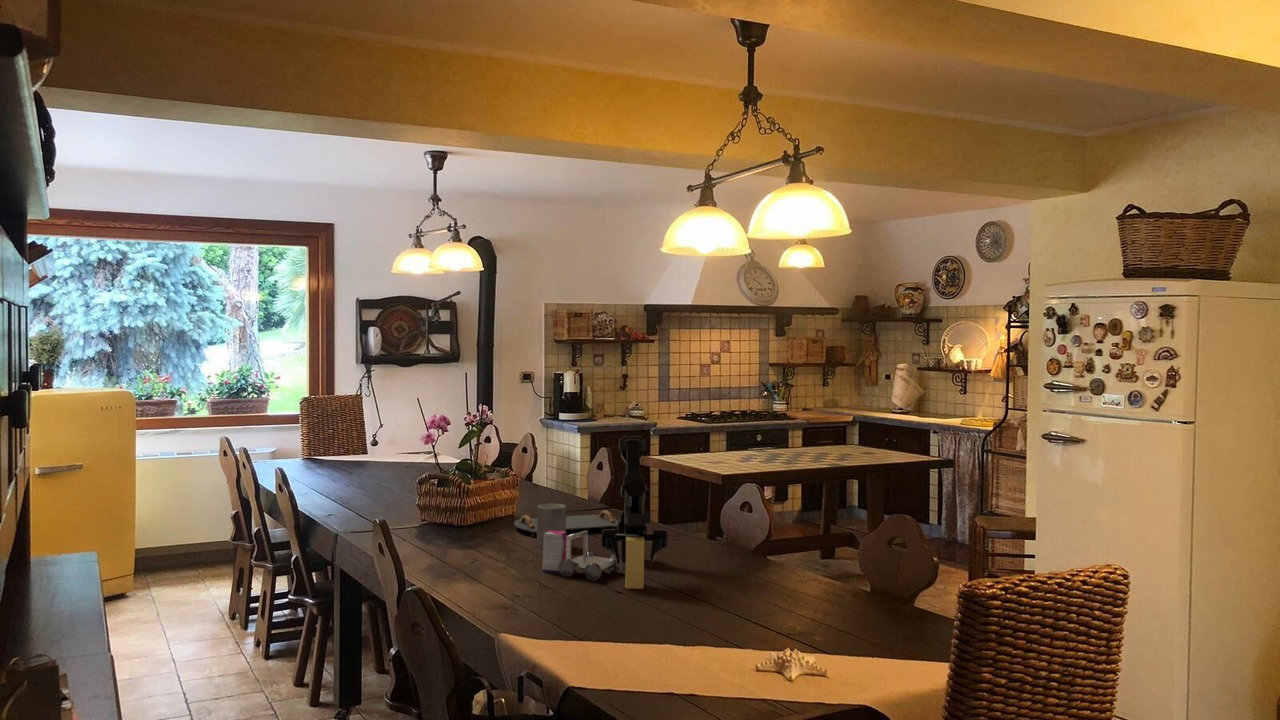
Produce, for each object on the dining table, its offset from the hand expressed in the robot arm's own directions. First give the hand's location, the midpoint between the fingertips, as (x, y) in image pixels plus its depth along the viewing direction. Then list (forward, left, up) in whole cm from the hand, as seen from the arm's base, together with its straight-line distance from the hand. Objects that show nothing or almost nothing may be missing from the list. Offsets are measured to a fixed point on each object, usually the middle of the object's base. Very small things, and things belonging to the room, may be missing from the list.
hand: (634, 564), depth 269 cm
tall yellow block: (-1, -1, -7) cm, 7 cm away
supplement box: (-4, -30, -7) cm, 31 cm away
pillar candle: (-31, -50, -7) cm, 59 cm away
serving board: (-59, -63, -7) cm, 86 cm away
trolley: (-6, -18, -7) cm, 20 cm away
